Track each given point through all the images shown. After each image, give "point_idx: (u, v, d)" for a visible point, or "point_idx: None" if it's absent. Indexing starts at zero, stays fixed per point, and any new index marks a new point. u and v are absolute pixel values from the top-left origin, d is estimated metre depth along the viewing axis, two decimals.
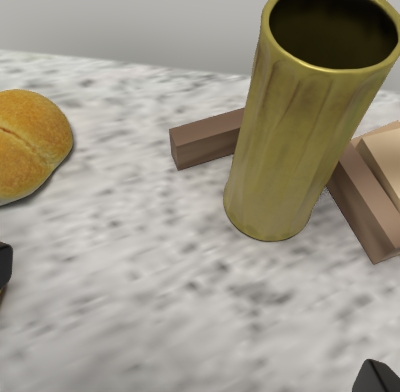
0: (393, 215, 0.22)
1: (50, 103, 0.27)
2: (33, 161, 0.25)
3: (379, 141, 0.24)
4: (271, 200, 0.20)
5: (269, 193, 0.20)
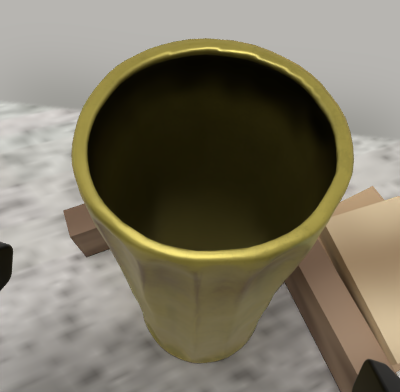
0: (365, 338, 0.16)
1: None
2: None
3: (346, 225, 0.18)
4: (183, 339, 0.14)
5: (177, 333, 0.13)
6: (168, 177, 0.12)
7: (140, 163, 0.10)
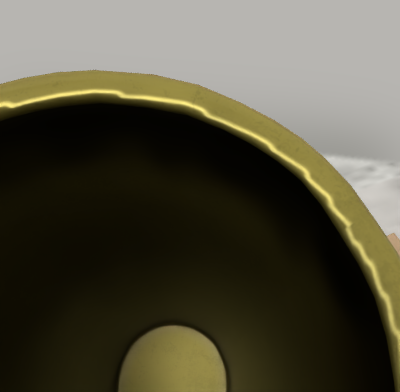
0: None
1: None
2: None
3: None
4: None
5: None
6: (94, 270, 0.08)
7: (23, 274, 0.06)
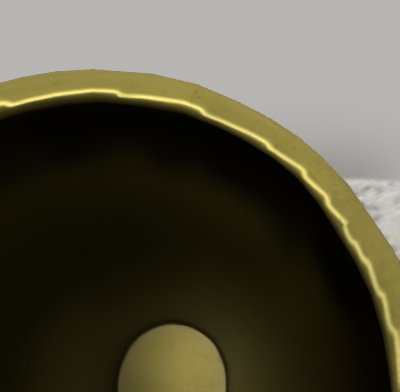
0: None
1: None
2: None
3: None
4: None
5: None
6: (93, 269, 0.08)
7: (22, 273, 0.06)
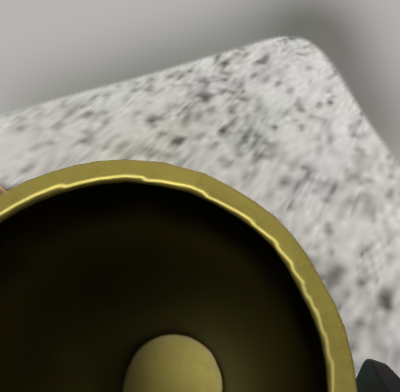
0: None
1: None
2: None
3: None
4: None
5: None
6: (109, 291, 0.09)
7: (55, 299, 0.07)
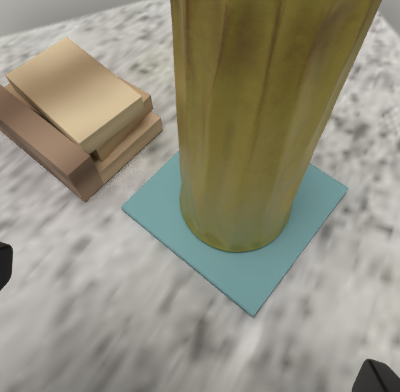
0: (60, 142, 0.19)
1: None
2: None
3: (25, 71, 0.21)
4: (228, 201, 0.15)
5: (223, 193, 0.15)
6: None
7: None
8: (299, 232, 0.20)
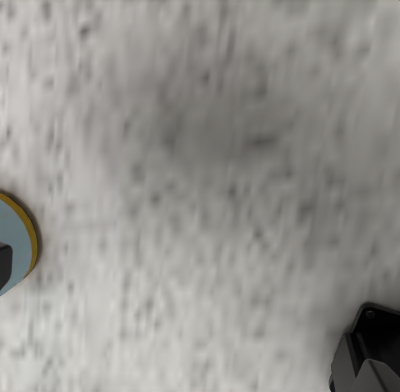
0: None
1: None
2: None
3: None
4: None
5: None
6: None
7: None
8: None
